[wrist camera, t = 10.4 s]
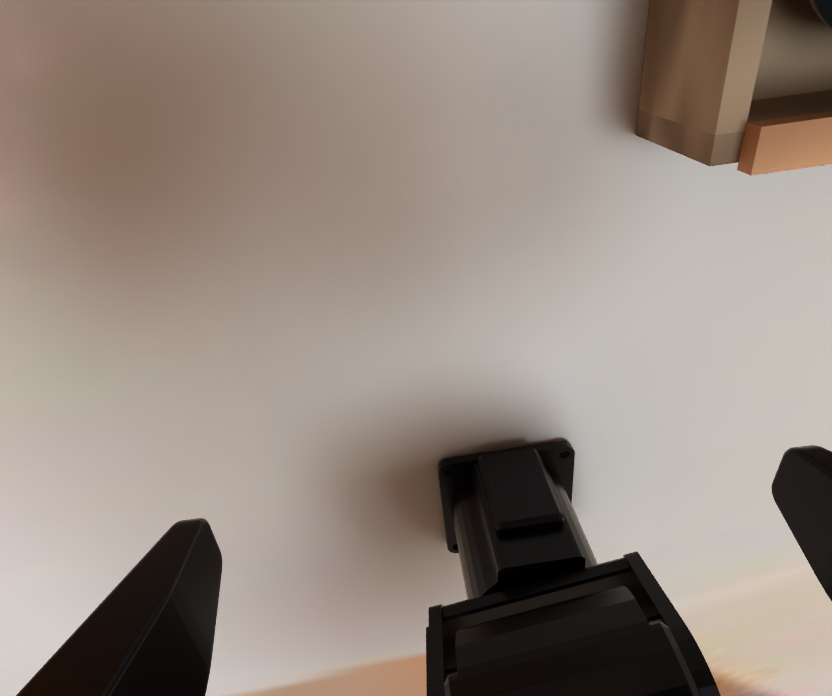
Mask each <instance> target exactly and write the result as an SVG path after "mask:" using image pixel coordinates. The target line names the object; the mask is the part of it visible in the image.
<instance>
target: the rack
mask: <svg viewBox="0 0 832 696" xmlns="http://www.w3.org/2000/svg"><path fill="white" fill-rule="evenodd" d="M636 135H637V136H639V137H642V138H644V139H646V140H649V141H651V142H654V143H656V144H658V145H661V146H663V147H665V148H668V149H670V150H672V151H675V152H677V153H680V154H682V155H684V156H687V157H689V158H691V159H694V160H696V161H698V162H701V163H703V164H706V165H708V166H715V165H722V164H729V163H736V162H739V163H738V168H737V170H739V171H741V172H744V173H746V174H749V175H756V174H763V173H771V172H778V171H785V170H792V169H799V168H806V167H813V166H820V165H828V164H832V28H830V27H829V26H828V25H826V24H825V23H824V22H823V21H822V20H821V19H820V18H819V17H818V15H817V14H816V13H815V11H814V9H813V8H812V6H811V4H810V2H809V0H650V4H649V14H648V24H647V33H646V43H645V52H644V62H643V71H642V81H641V91H640V100H639V110H638V119H637V129H636Z"/></svg>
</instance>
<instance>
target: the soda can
mask: <svg viewBox="0 0 832 696" xmlns="http://www.w3.org/2000/svg"><path fill="white" fill-rule="evenodd" d="M809 2H810V4H811V6H812V8H813V9H814V11H815V13H816V14H817V15H818V17H819V18H820V19H821V20H822V21H823V22H824V23H825V24H826V25H828V26H829V27H830V28H832V0H809Z"/></svg>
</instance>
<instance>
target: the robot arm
mask: <svg viewBox="0 0 832 696" xmlns="http://www.w3.org/2000/svg"><path fill="white" fill-rule="evenodd" d="M562 451H565V452H563V453H561V452H562ZM574 456H575V453H574V449H573V447H572V445H571V444H570V443H569V442H566V441H560V442H553V443H547V444H540V445H533V446H527V447H520V448H513V449H507V450H500V451H493V452H486V453H480V454H473V455H466V456H460V457H453V458H447V459H443V460H442V461H440V462H439V464H438V467H437V469H438V477H439V485H440V493H441V501H442V509H443V517H444V524H445V532H446V540H447V547H448V550H449V551H450V552H453V553H459V555H460V560H461V566H462V571H463V576H464V582H465V587H466V592H467V597H468V600H465V601H461V602H457V603H454V604H450V605H446V606H442V604H441V605H437V606H434V607H430V608H429V627H426V664H427V696H720V693H719V691H718V688H717V685H716V683H715V681H714V678H713V676H712V674H711V671H710V669H709V667H708V665H707V663H706V661H705V659H704V657H703V655H702V652H701V651H700V649H699V647H698V645H697V643H696V641H695V639H694V638H693V636H692V634H691V633H690V631H689V629H688V628H687V626H686V625H685V623H684V621H683V620H682V618H681V617H680V615H679V614H678V612H677V611H676V609H675V608H674V606H673V605H672V603H671V602H670V600H669V599H668V597H667V596H666V594H665V593H664V591H663V590H662V588H661V587H660V585H659V584H658V582H657V581H656V579H655V578H654V576H653V575H652V573H651V572H650V570H649V569H648V567H647V566H646V564H645V563H644V561H643V559H642V558H641V556H640V555H639V553H638V552H633V553H629V554H626V555H624V558H620V559H616V560H613V561H609V562H605V563H602V564H597V562H596V559H595V557H594V555H593V552H592V550H591V548H590V546H589V543H588V541H587V539H586V537H585V534H584V532H583V530H582V527H581V525H580V523H579V521H578V518H577V516H576V514H575V511H574V509H573V507H572V505H571V501H572V486H573V471H574ZM448 468H451V469H449V470H445V469H448ZM772 494H773V497H774V500H775V502H776V504H777V506H778V508H779V509H780V511H781V513H782V515H783V517H784V518H785V520H786V522H787V524H788V526H789V528H790V529H791V531H792V533H793V535H794V537H795V538H796V540H797V542H798V544H799V546H800V547H801V549H802V551H803V553H804V555H805V557H806V558H807V560H808V562H809V564H810V566H811V567H812V569H813V571H814V573H815V575H816V576H817V578H818V580H819V581H820V583H821V585H822V587H823V588H824V590H825V592H826V593H827V595H828V596H829V598H830V599H831V601H832V452H831V451H829V450H827V449H824V448H822V447H819V446H813V445H811V446H802V447H794V448H790V449H788V450H787V451H786V452H785V453H784V455H783V457H782V460H781V463H780V465H779V468H778V470H777V473H776V475H775V478H774V480H773V483H772ZM221 573H222V556H221V552H220V549H219V547H218V544H217V542H216V539H215V537H214V535H213V532H212V530H211V527H210V525H209V523H208V521H206V520H205V519H202V518H199V519H190V520H182V521H179V522H177V523H175V524H174V525H173V526H172V527H171V528H170V529H169V530H168V531H167V532H166V533H165V534H164V535H163V536H162V538H161V539H160V540H159V541H158V542H157V543H156V544H155V545H154V546H153V547H152V548H151V550H150V551H149V552H148V553H147V554H146V555H145V556H144V557H143V558H142V559H141V560H140V561H139V563H138V564H137V565H136V566H135V567H134V568H133V569H132V570H131V571H130V572H129V573H128V575H127V576H126V577H125V578H124V579H123V580H122V581H121V582H120V583H119V584H118V585H117V586H116V588H115V589H114V590H113V591H112V592H111V593H110V594H109V595H108V596H107V597H106V598H105V600H104V601H103V602H102V603H101V604H100V605H99V606H98V607H97V608H96V609H95V610H94V611H93V613H92V614H91V615H90V616H89V617H88V618H87V619H86V620H85V621H84V622H83V623H82V624H81V626H80V627H79V628H78V629H77V630H76V631H75V632H74V633H73V634H72V635H71V636H70V638H69V639H68V640H67V641H66V642H65V643H64V644H63V645H62V646H61V647H60V648H59V649H58V651H57V652H56V653H55V654H54V655H53V656H52V657H51V658H50V659H49V660H48V661H47V663H46V664H45V665H44V666H43V667H42V668H41V669H40V670H39V671H38V672H37V673H36V674H35V676H34V677H33V678H32V679H31V680H30V681H29V682H28V683H27V684H26V685H25V686H24V688H23V689H22V690H21V691H20V692H19V693H18V694H17V695H16V696H205V693H206V689H207V683H208V678H209V673H210V667H211V659H212V652H213V643H214V634H215V625H216V617H217V608H218V599H219V591H220V582H221Z"/></svg>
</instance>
